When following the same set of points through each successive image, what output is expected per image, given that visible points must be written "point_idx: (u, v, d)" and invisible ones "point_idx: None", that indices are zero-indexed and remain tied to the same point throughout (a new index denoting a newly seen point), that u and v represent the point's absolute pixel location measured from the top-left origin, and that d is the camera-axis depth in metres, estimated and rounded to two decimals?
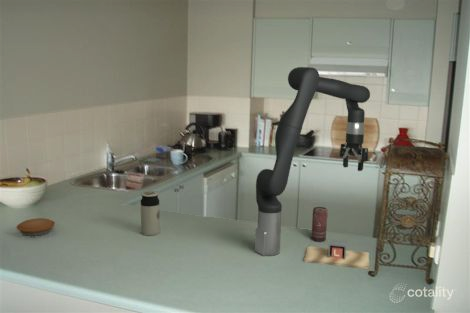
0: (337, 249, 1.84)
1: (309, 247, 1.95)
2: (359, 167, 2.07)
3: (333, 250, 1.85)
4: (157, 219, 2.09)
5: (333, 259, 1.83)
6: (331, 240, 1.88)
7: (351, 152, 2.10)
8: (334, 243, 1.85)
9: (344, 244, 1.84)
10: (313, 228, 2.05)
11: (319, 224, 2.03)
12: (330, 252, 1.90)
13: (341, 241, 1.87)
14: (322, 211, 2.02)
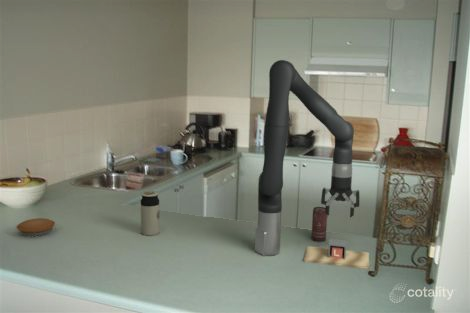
0: (337, 249, 1.84)
1: (309, 247, 1.95)
2: (352, 213, 1.82)
3: (333, 250, 1.85)
4: (157, 219, 2.09)
5: (333, 259, 1.83)
6: (331, 240, 1.88)
7: (339, 197, 1.82)
8: (334, 243, 1.85)
9: (344, 244, 1.84)
10: (313, 228, 2.05)
11: (319, 224, 2.03)
12: (330, 252, 1.90)
13: (341, 241, 1.87)
14: (322, 211, 2.02)
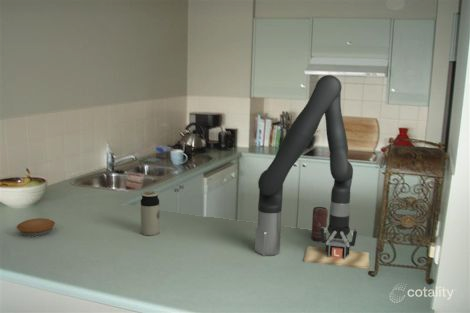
0: (337, 249, 1.84)
1: (309, 247, 1.95)
2: (347, 252, 1.85)
3: (333, 250, 1.85)
4: (157, 219, 2.09)
5: (333, 259, 1.83)
6: (331, 240, 1.88)
7: (337, 235, 1.85)
8: (334, 243, 1.85)
9: (344, 244, 1.84)
10: (313, 228, 2.05)
11: (319, 224, 2.03)
12: (330, 252, 1.90)
13: (341, 241, 1.87)
14: (322, 211, 2.02)
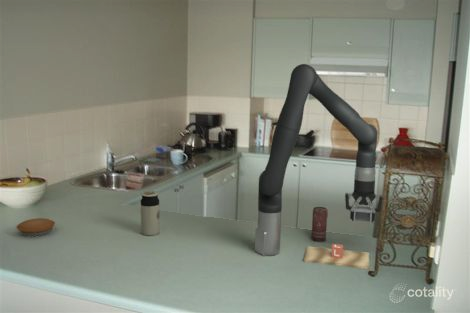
0: (337, 249, 1.84)
1: (309, 247, 1.95)
2: (373, 218, 1.80)
3: (333, 250, 1.85)
4: (157, 219, 2.09)
5: (333, 259, 1.83)
6: (356, 207, 1.84)
7: (362, 201, 1.80)
8: (359, 209, 1.80)
9: (370, 210, 1.79)
10: (313, 228, 2.05)
11: (319, 224, 2.03)
12: (355, 219, 1.86)
13: (366, 208, 1.83)
14: (322, 211, 2.02)
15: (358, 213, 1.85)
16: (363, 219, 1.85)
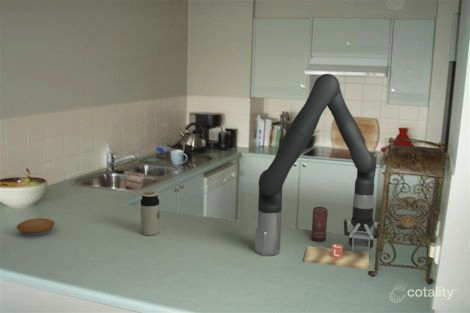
0: (337, 249, 1.84)
1: (309, 247, 1.95)
2: (371, 244, 1.82)
3: (333, 250, 1.85)
4: (157, 219, 2.09)
5: (333, 259, 1.83)
6: None
7: (361, 228, 1.82)
8: (358, 236, 1.82)
9: (368, 237, 1.81)
10: (313, 228, 2.05)
11: (320, 224, 2.03)
12: (353, 245, 1.87)
13: (364, 234, 1.85)
14: (322, 211, 2.02)
15: (356, 239, 1.87)
16: (361, 245, 1.87)
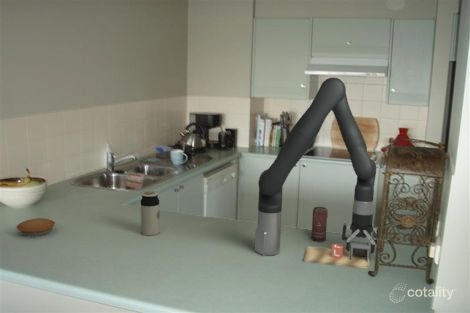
0: (337, 249, 1.84)
1: (309, 247, 1.95)
2: (372, 250, 1.82)
3: (333, 250, 1.85)
4: (157, 219, 2.09)
5: (333, 259, 1.83)
6: (353, 242, 1.86)
7: (360, 234, 1.82)
8: (357, 245, 1.83)
9: (367, 246, 1.82)
10: (313, 228, 2.05)
11: (319, 224, 2.03)
12: (352, 254, 1.88)
13: (363, 243, 1.85)
14: (322, 211, 2.02)
15: (355, 248, 1.87)
16: (360, 254, 1.87)
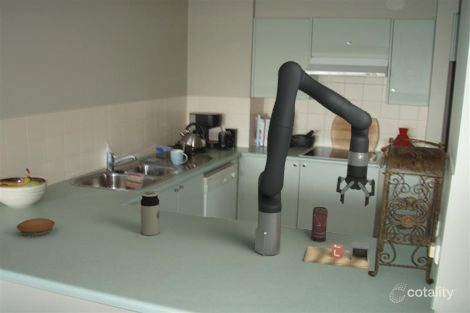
0: (337, 249, 1.84)
1: (309, 247, 1.95)
2: (366, 202, 1.83)
3: (333, 250, 1.85)
4: (157, 219, 2.09)
5: (333, 259, 1.83)
6: (353, 242, 1.86)
7: (354, 186, 1.83)
8: (357, 245, 1.83)
9: (367, 246, 1.82)
10: (313, 228, 2.05)
11: (319, 224, 2.03)
12: (352, 254, 1.88)
13: (363, 243, 1.85)
14: (322, 211, 2.02)
15: (355, 248, 1.87)
16: (360, 254, 1.87)
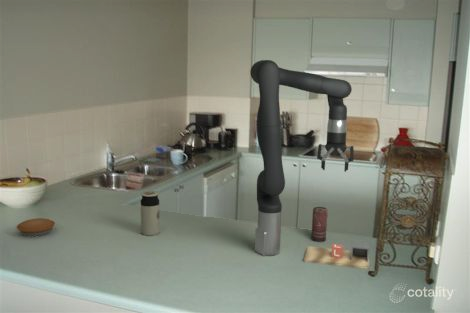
0: (337, 249, 1.84)
1: (309, 247, 1.95)
2: (346, 167, 1.92)
3: (333, 250, 1.85)
4: (157, 219, 2.09)
5: (333, 259, 1.83)
6: (353, 242, 1.86)
7: (334, 152, 1.92)
8: (357, 245, 1.83)
9: (367, 246, 1.82)
10: (313, 228, 2.05)
11: (319, 224, 2.03)
12: (352, 254, 1.88)
13: (363, 243, 1.85)
14: (322, 211, 2.02)
15: (355, 248, 1.87)
16: (360, 254, 1.87)
